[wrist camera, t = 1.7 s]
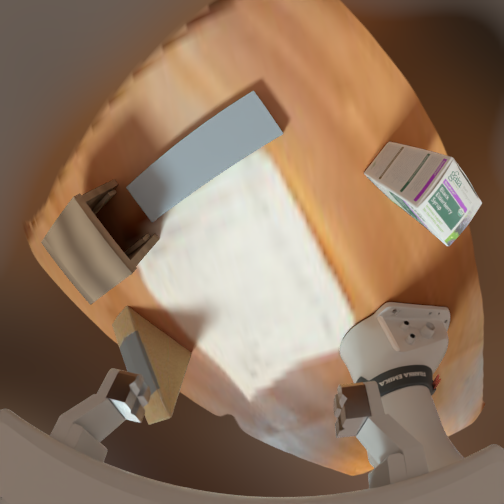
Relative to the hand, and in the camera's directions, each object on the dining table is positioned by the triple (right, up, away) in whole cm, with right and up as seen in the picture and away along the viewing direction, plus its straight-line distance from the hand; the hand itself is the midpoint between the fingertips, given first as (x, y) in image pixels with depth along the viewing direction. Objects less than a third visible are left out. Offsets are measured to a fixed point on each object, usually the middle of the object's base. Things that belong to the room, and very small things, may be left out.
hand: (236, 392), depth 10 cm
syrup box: (+18, +16, +20) cm, 32 cm away
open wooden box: (-19, +10, +27) cm, 34 cm away
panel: (-6, +17, +22) cm, 29 cm away
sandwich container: (-19, -11, +38) cm, 44 cm away
